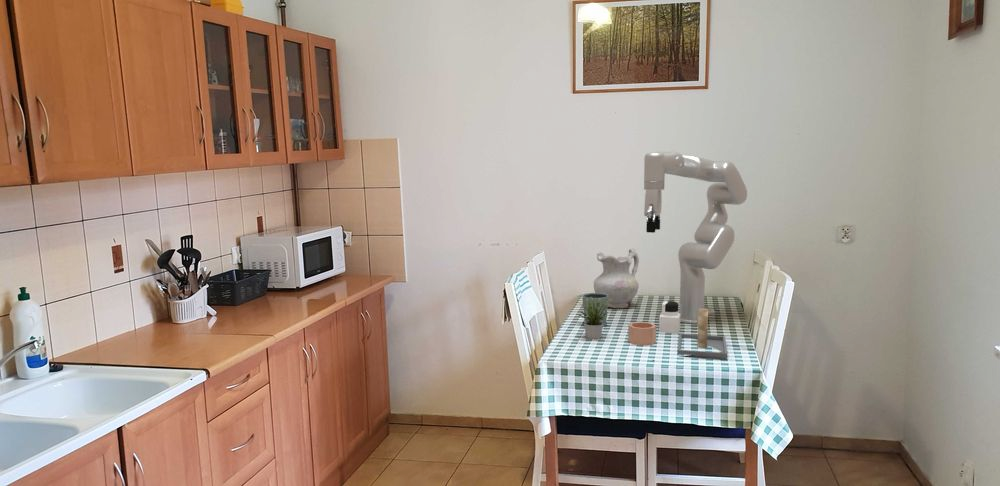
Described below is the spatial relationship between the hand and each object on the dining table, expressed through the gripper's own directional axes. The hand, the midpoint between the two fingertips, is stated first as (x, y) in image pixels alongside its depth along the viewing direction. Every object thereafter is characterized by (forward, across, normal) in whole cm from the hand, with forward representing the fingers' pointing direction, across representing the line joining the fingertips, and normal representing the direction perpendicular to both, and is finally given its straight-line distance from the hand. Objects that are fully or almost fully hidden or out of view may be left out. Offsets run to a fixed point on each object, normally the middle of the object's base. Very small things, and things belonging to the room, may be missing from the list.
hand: (653, 230), depth 275 cm
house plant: (+38, +22, -16) cm, 47 cm away
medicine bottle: (+38, +3, +8) cm, 39 cm away
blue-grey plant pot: (+38, +1, -22) cm, 44 cm away
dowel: (+38, +21, +22) cm, 48 cm away
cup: (+38, +22, +1) cm, 44 cm away
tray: (+38, +21, +22) cm, 49 cm away
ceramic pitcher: (+38, -36, -22) cm, 57 cm away
